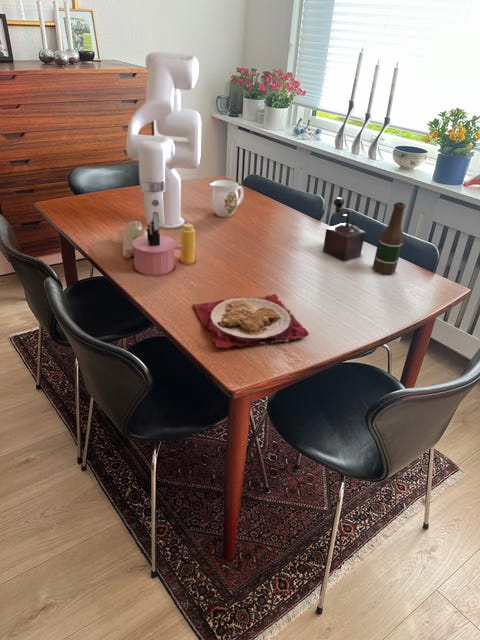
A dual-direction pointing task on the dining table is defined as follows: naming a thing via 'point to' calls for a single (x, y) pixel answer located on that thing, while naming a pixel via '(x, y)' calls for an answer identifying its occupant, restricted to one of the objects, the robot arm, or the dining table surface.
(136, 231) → the cheese
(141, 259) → the pot
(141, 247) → the lid
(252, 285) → the dining table surface
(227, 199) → the pitcher
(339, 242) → the coffee grinder
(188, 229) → the yellow stepped cylinder
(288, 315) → the plate with food
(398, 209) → the beer bottle
